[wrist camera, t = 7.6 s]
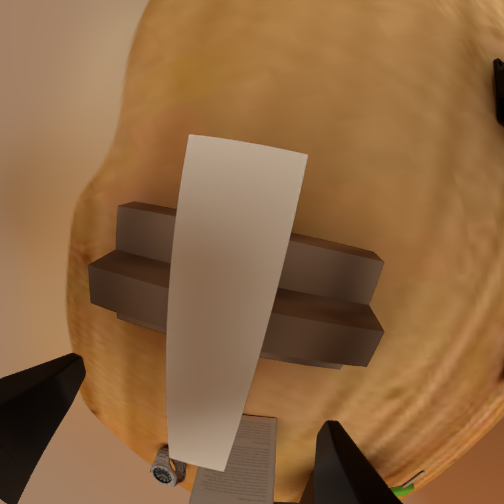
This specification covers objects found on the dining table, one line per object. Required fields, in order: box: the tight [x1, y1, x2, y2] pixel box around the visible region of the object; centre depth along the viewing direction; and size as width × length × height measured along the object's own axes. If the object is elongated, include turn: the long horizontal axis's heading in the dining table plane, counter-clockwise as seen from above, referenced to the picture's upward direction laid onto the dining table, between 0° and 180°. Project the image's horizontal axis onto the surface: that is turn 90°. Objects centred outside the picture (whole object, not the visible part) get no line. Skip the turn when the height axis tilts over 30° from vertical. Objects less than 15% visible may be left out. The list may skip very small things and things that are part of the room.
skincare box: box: [189, 415, 277, 504], centre depth 16 cm, size 6×4×12 cm
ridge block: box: [88, 202, 384, 369], centre depth 15 cm, size 16×8×5 cm, turn 79°
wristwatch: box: [150, 447, 186, 486], centre depth 23 cm, size 4×6×5 cm, turn 10°
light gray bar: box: [166, 134, 308, 472], centre depth 11 cm, size 3×16×4 cm, turn 169°
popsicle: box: [390, 471, 425, 499], centre depth 27 cm, size 6×15×2 cm, turn 166°
